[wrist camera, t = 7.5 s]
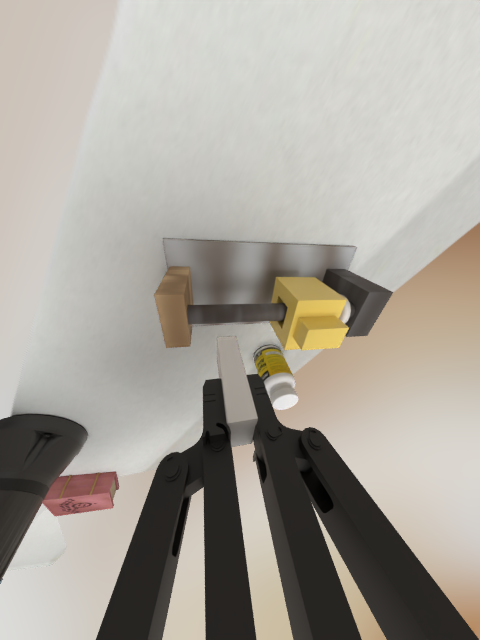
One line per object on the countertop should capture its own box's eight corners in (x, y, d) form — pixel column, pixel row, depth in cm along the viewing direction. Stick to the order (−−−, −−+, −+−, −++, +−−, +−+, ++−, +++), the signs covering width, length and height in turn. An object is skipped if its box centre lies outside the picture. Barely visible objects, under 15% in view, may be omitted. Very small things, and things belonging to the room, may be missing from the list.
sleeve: (268, 319, 24) (292, 364, 17) (276, 276, 20) (309, 312, 14) (301, 318, 25) (336, 360, 18) (314, 277, 21) (363, 310, 15)
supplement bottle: (255, 344, 32) (272, 392, 24) (283, 343, 33) (308, 389, 25) (251, 365, 35) (265, 414, 27) (276, 363, 36) (297, 410, 28)
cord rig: (177, 324, 26) (167, 370, 19) (163, 238, 20) (140, 259, 13) (325, 318, 31) (362, 354, 24) (354, 246, 24) (418, 265, 17)
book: (116, 468, 51) (108, 492, 47) (119, 486, 58) (112, 508, 54) (54, 474, 46) (39, 500, 42) (66, 492, 54) (54, 516, 50)
